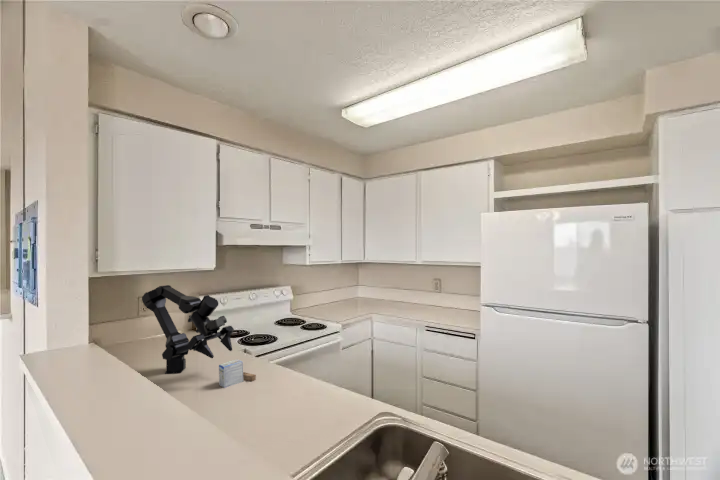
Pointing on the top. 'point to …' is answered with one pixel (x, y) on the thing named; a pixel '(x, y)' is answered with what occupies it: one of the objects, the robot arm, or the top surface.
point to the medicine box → (230, 373)
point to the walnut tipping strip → (249, 376)
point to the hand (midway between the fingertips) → (222, 353)
